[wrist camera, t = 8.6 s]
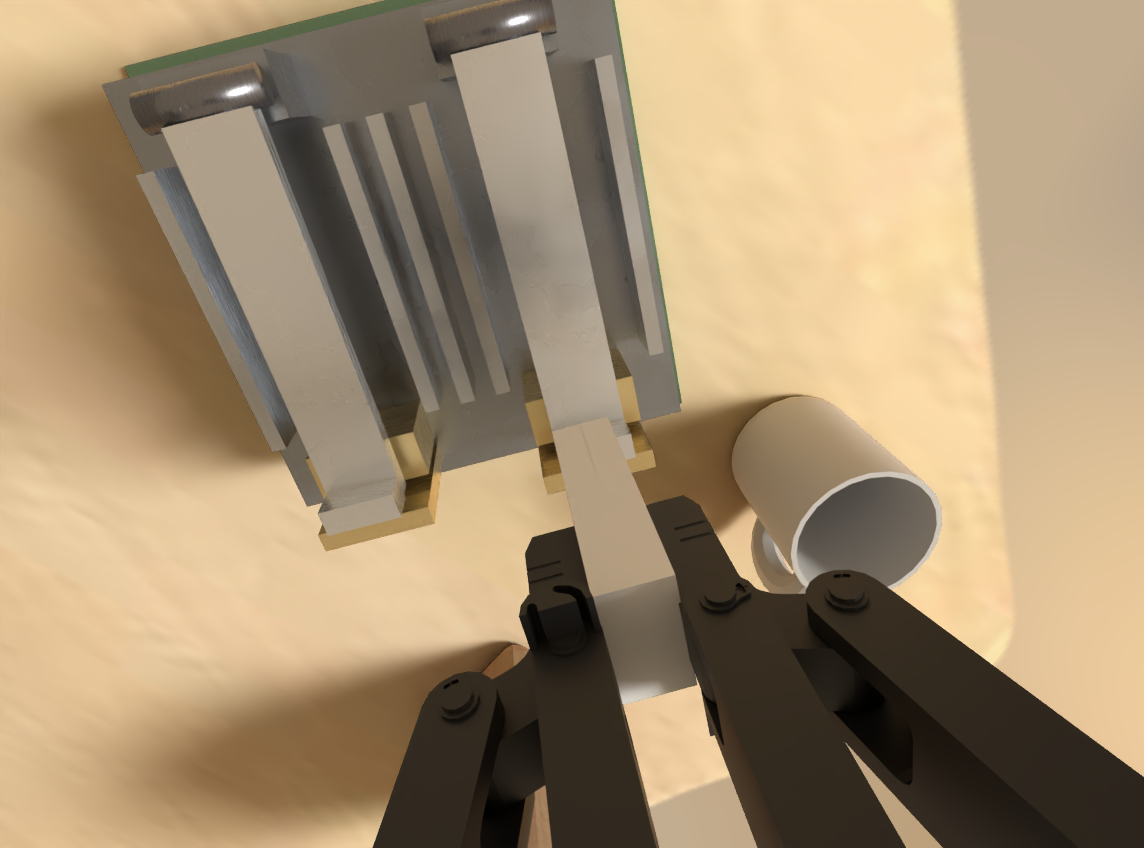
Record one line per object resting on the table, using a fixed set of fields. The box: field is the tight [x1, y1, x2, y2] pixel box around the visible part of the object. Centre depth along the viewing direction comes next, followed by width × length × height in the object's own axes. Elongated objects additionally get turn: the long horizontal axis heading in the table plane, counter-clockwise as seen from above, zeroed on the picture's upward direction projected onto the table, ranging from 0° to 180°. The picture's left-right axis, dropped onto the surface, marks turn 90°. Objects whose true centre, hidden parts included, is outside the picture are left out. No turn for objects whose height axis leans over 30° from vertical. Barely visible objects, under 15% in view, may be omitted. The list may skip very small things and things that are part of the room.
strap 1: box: [129, 62, 406, 536], centre depth 23 cm, size 4×15×2 cm, turn 13°
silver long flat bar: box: [424, 0, 636, 460], centre depth 23 cm, size 4×15×2 cm, turn 13°
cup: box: [731, 396, 942, 594], centre depth 35 cm, size 7×10×9 cm
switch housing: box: [102, 0, 682, 551], centre depth 27 cm, size 20×21×10 cm
